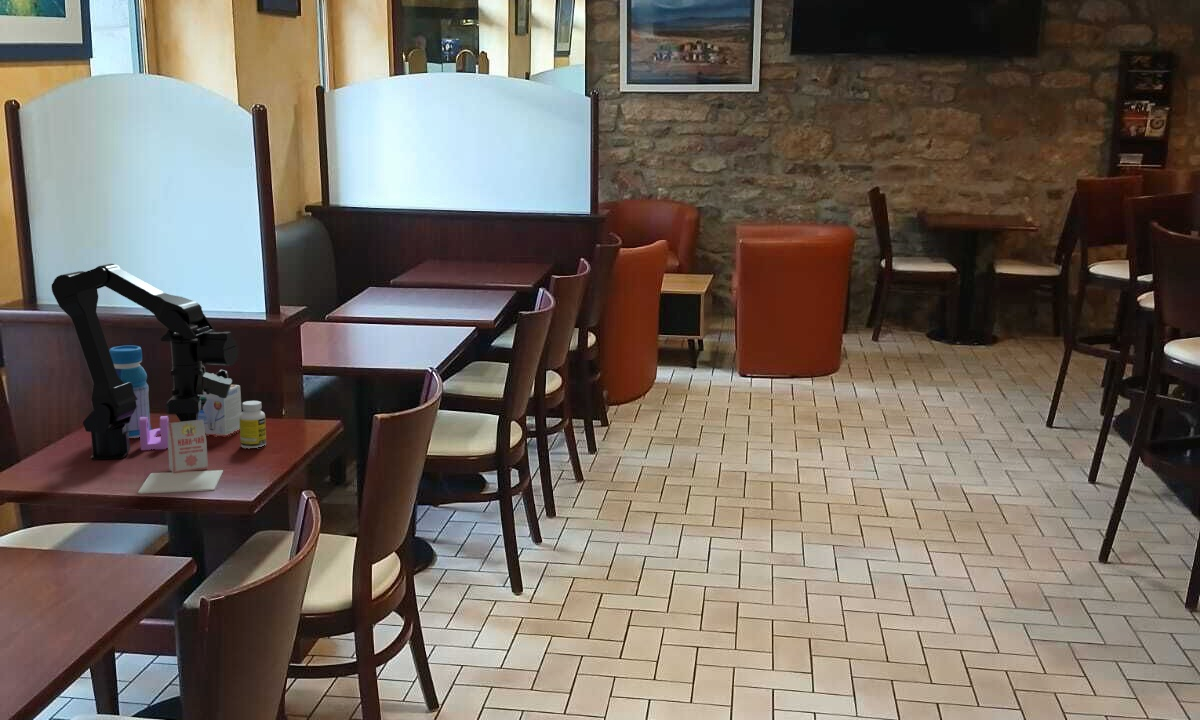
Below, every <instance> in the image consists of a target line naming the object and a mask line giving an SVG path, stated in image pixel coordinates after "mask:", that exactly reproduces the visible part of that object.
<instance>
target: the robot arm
mask: <svg viewBox="0 0 1200 720" xmlns="http://www.w3.org/2000/svg"><path fill="white" fill-rule="evenodd" d="M104 287H106V288H108V289H109V290H111V291H112V292H115V293H117V294H118V295H120V296H122V297H124V298H125V299H127V300H129V301H132V303H134V304H137V305H138V306H140V307H142V308H143V309H145V310H147V311H149V312H150V313H152V314H153V315H154V317H155V318H156V320H157V321H158V322H159V323H160V324H161V325H162V326H164V327H165V328H166V329H167V331H166V332H165V334H163V335H162V337H160V339H159V340H160V342H164V343H165V342H166V343H170V352H171V365H172V366H171V370H170V376H172V378H173V380H172V381H173V389H171V391H172V392H171V393H172V394H171V395H172V397H171V398H169V399H168V400H167V402H166V403H165V410H166V411H165V412H166V414H169V415H171V414H175V415H176V417H177V418H178V420H179V422H182V421H192V420H198V415H199V411H200V410H201V409H202V408H203V406H204V404H205V403H206V401H207V399H200V396H199V395H203V394H204V393H203V392H206V394H214V395H217V396H219V397H221V398H226V397H227V395H228V393H229V390H230V387H231V385H233V384H232V383H233V379H232V378H230V377H229V373H228V371H227V370H224V369H219V370H218V372H217V371H216V373H214V372H212V373H210V372H207V371H206V366H204V365H212V366H213V365H215V366H234V365H235V363H236V362H237V360H238V358H239V351H240V349H239V346H238V344H237V341H236V339H235V338H233V334H232V333H233V332H231V331H223V332H222V331H216V328H215V327H214V326H213V325H212V323H211V322H210V320H209V319H208V318H207V317H206V315H205V314H204V311H203V309H202V308H203V307H202V306H201V305H200V304H199V302H197V301H195V300H193V299H189V298H186V297H184V296H179V295H173V294H169V293H166V292H164V291H163V290H160V289H158V288H156V287H154V286H153V285H151V284H149V283H148V282H145V281H143V280H142V279H140V278H138V277H136V276H135V275H133V274H131V273H129V272H127V271H126V270H123V269H122V268H121V267H120V266H119V265H118V264H115V263H108V264H103V265H99V266H97V267H95V268H92V269H90V270H87V271H83V270H82V271H80V270H79V271H74V272H70V273H64V274H60V275H57V276H56V277H55V278H54V280H53V282H52V284H51V292H52V295H53V296H54V298H55V300H56V302H57V304H58V307H59V308H60V310H62V311H63V312H64V313H66V315H67V316H68V317H70V319H71V322H72V325H73V327H74V330H75V333H76V336H77V339H78V340H77V341H78V342H79V346H80V348H81V350H82V354H83V357H84V360H85V363H86V366H87V368H88V371H89V374H90V377H91V381H92V384H93V385H92V390H91V391H92V392H91V397H90V400H91V406H92V412H91V411H90V413H89V414H88V416H87V417H86V418H85V419H84V420H83V422H82V425H83V428H84V430H85V431H86V432H88V433H91V434H90V435H91V447H92V455H91V456H90V460H110V459H111V460H113V459H124V458H125V457H126V456H127V454H128V453H129V452H130V450H131V446H130V439H129V432H128V431H127V432H126V427H125V424H126V423H129V422H130V419H131V416H132V414H133V413H134V411H135V409H136V401H135V400H138V399H137V397H136V396H135V394H134V391H133V386H132V384H131V382H128V383H124V382H123V381H122V380H121V379H120V378H119V377H118V375H117V373H116V370H115V367H114V364H113V361H112V358H111V355H110V352H109V350H110V348H109V347H108V344H107V340H106V337H105V335H104V332H103V328H102V326H101V323H100V319H99V316H98V314H97V307H98V302H99V293H98V290H99V289H101V288H104Z"/></svg>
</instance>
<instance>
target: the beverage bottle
mask: <svg viewBox="0 0 1200 720" xmlns="http://www.w3.org/2000/svg"><path fill="white" fill-rule="evenodd" d="M142 351H143V350H142V348H141V346H140V345H139V346H138V345H120V346H119V345H118V346H113V347H111V348H109V352H110V355H111V358H112V361H113V364H114V367H115V370H116V373H117V375H118V377H119V378H120V379H121V380H122V381H123V382H124V383H128V382H131V384H132V386H133V391H134V394H135V396H136V397H137V399H138V400H135V401H136V409H135V411H134V413H133V414H132V416H131V419H130V422H129V423H126V424H125V427H126V432H127V431H128V432H129V438H134V439H138V438H139V437H140V430H139V420H140V417H148V420H149V431H150V430H152V427H151V426H152V425H151V415H150V400H149V391H150V390H149V389H150V388H149V384H148V383H147V379H148V375H147V372H146V370H145V369H144V367H143V366H142V365H141V363H142V362H143V352H142ZM139 439H140V438H139Z"/></svg>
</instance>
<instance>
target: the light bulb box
mask: <svg viewBox="0 0 1200 720" xmlns="http://www.w3.org/2000/svg"><path fill="white" fill-rule="evenodd" d="M203 393H204V394H203V395H199V396H200V399H207V401H206V403H205V404H204V406H203V408H202V409H201V410H200V411H199V415H198V420H201V419H203V420H204V428H205V433H206V434H216V435H228V434H230V433H233V432H234V431H237V430H239V429H240V419H239V418H240V414H241V413H242V412H243V411H242V395H241V385H239V384H231V387H230V390H229V393H228V395H227V397H226V398H221V397H219V396H217V395H214V394H206V392H203Z"/></svg>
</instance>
